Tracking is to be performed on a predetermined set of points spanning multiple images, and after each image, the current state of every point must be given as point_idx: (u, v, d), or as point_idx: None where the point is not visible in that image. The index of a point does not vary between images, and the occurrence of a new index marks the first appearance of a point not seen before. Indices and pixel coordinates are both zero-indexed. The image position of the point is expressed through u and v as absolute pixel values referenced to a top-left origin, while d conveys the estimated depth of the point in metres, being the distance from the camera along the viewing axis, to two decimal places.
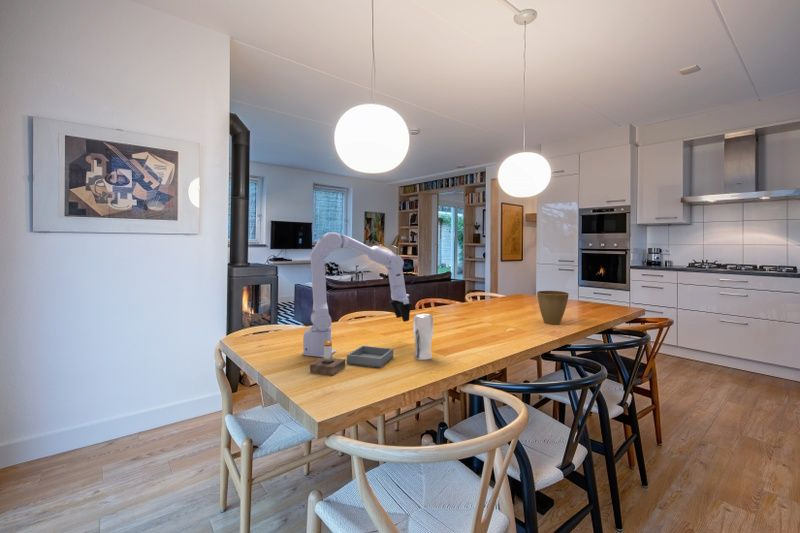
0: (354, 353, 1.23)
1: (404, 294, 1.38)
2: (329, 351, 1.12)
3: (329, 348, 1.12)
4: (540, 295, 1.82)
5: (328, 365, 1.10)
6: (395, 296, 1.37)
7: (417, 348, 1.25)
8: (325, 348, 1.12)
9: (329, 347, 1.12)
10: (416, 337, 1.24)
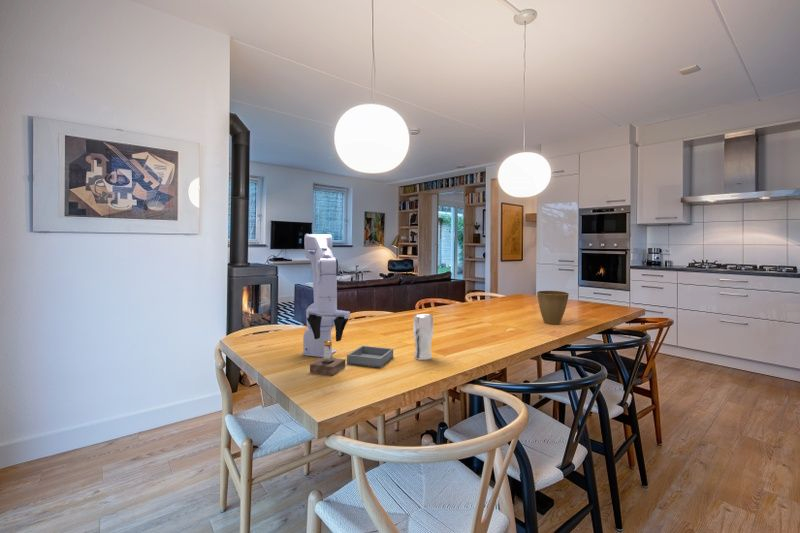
0: (354, 353, 1.23)
1: (318, 308, 1.12)
2: (329, 351, 1.12)
3: (329, 348, 1.12)
4: (540, 295, 1.82)
5: (328, 365, 1.10)
6: None
7: (417, 348, 1.25)
8: (325, 348, 1.12)
9: (329, 347, 1.12)
10: (416, 337, 1.24)
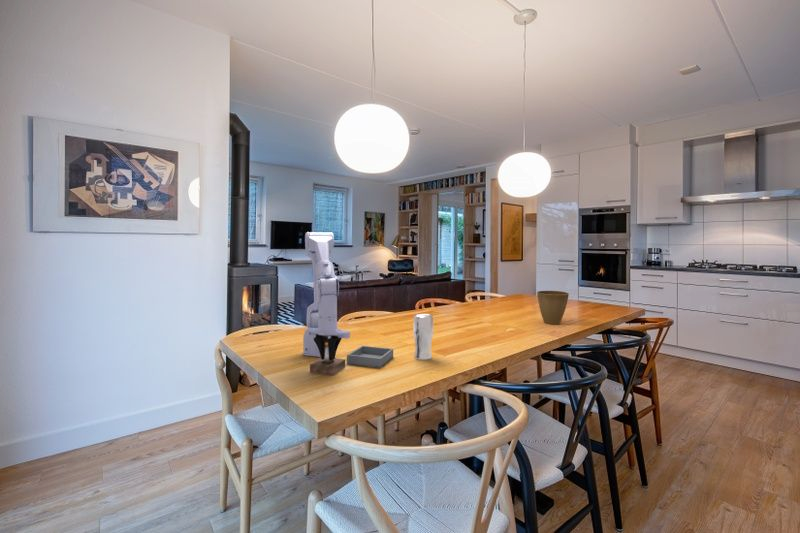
0: (354, 353, 1.23)
1: (318, 328, 1.12)
2: None
3: None
4: (540, 295, 1.82)
5: (328, 365, 1.10)
6: None
7: (417, 348, 1.25)
8: (325, 348, 1.12)
9: None
10: (416, 337, 1.24)
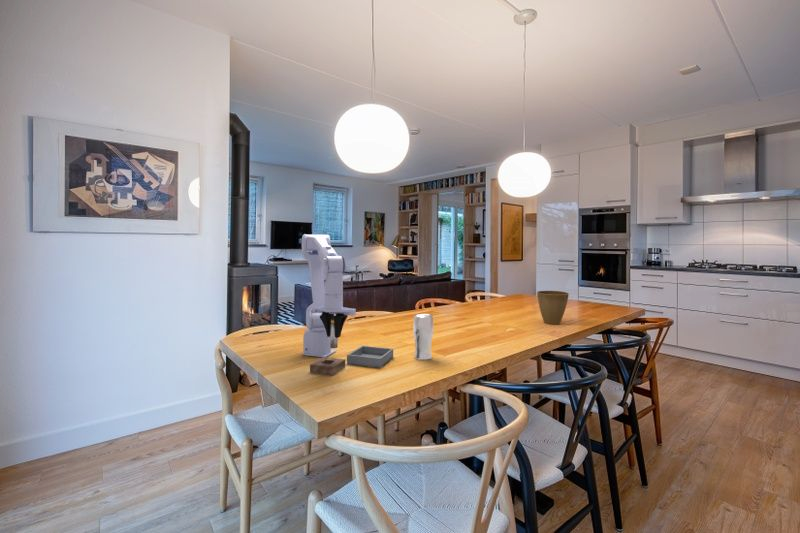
0: (354, 353, 1.23)
1: None
2: None
3: None
4: (540, 295, 1.82)
5: (328, 365, 1.10)
6: None
7: (417, 348, 1.25)
8: (331, 325, 1.13)
9: None
10: (416, 337, 1.24)
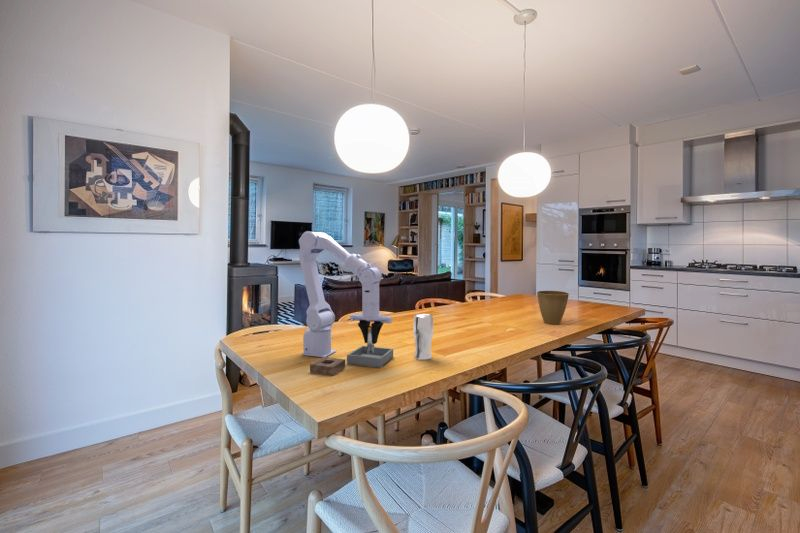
0: (354, 353, 1.23)
1: (362, 314, 1.22)
2: (371, 336, 1.21)
3: (372, 332, 1.21)
4: (540, 295, 1.82)
5: (328, 365, 1.10)
6: None
7: (417, 348, 1.25)
8: (368, 332, 1.21)
9: (372, 332, 1.21)
10: (416, 337, 1.24)
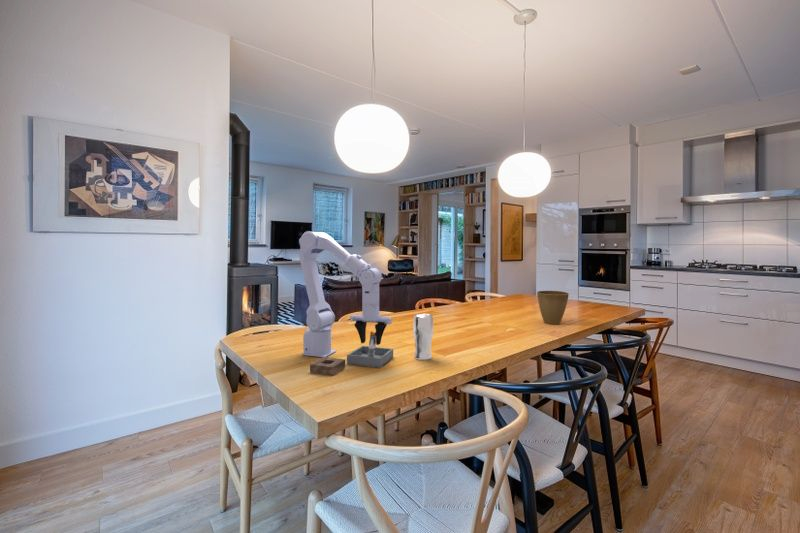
0: (354, 353, 1.23)
1: (362, 314, 1.22)
2: (374, 341, 1.22)
3: (374, 338, 1.22)
4: (540, 295, 1.82)
5: (328, 365, 1.10)
6: None
7: (417, 348, 1.25)
8: (371, 337, 1.23)
9: (374, 337, 1.22)
10: (416, 337, 1.24)
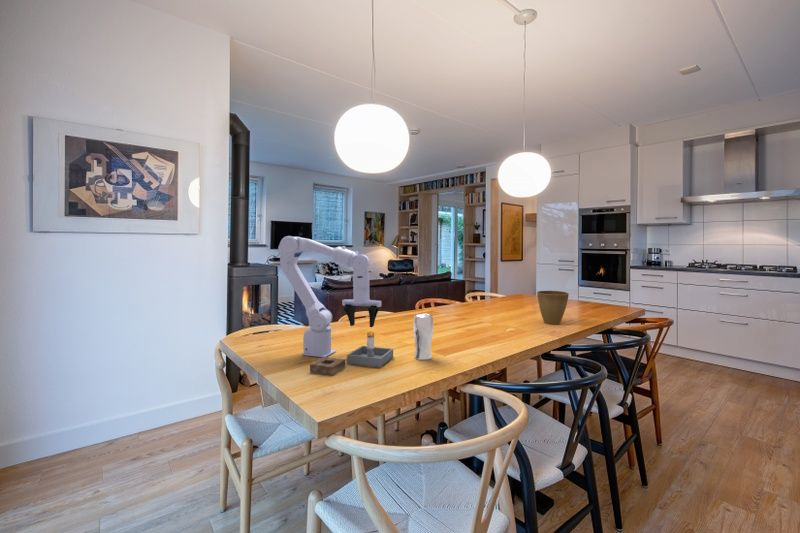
0: (354, 353, 1.23)
1: None
2: (371, 342, 1.21)
3: (372, 339, 1.21)
4: (540, 295, 1.82)
5: (328, 365, 1.10)
6: None
7: (417, 348, 1.25)
8: (368, 339, 1.22)
9: (372, 338, 1.21)
10: (416, 337, 1.24)
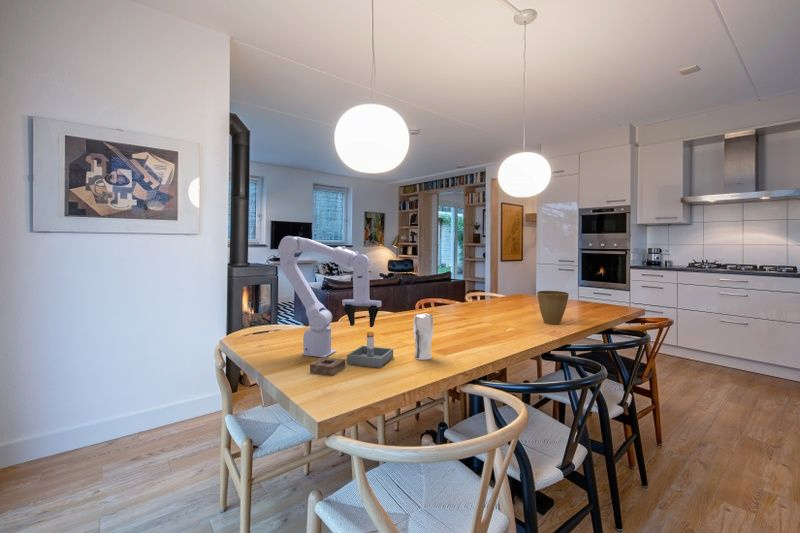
0: (354, 353, 1.23)
1: None
2: (371, 342, 1.22)
3: (371, 339, 1.22)
4: (540, 295, 1.82)
5: (328, 365, 1.10)
6: None
7: (417, 348, 1.25)
8: (368, 339, 1.22)
9: (371, 338, 1.22)
10: (416, 337, 1.24)
